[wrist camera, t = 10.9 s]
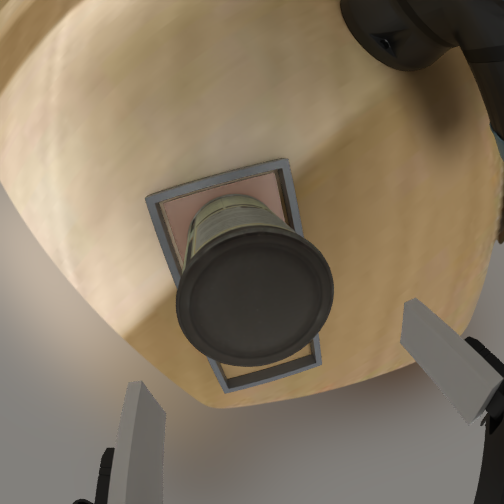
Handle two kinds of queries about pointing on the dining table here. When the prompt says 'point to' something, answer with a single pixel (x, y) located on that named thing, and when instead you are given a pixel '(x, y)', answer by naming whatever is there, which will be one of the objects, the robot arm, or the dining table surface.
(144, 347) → the dining table surface
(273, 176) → the organiser
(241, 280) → the coffee can
